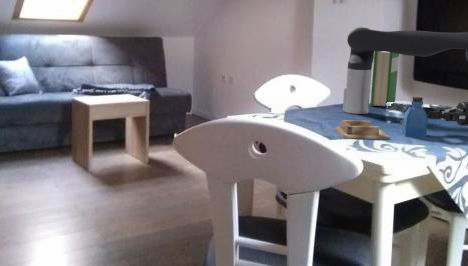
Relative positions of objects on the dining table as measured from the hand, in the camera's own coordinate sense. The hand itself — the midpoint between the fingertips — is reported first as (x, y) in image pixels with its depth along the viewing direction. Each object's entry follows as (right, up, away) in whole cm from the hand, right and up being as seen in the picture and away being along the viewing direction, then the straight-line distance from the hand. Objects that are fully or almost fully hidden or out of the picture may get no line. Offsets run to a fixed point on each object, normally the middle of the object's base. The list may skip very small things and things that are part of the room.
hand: (423, 112), depth 158 cm
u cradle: (-19, -7, +1) cm, 21 cm away
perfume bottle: (-2, -7, +1) cm, 8 cm away
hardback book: (+6, +6, +65) cm, 66 cm away
